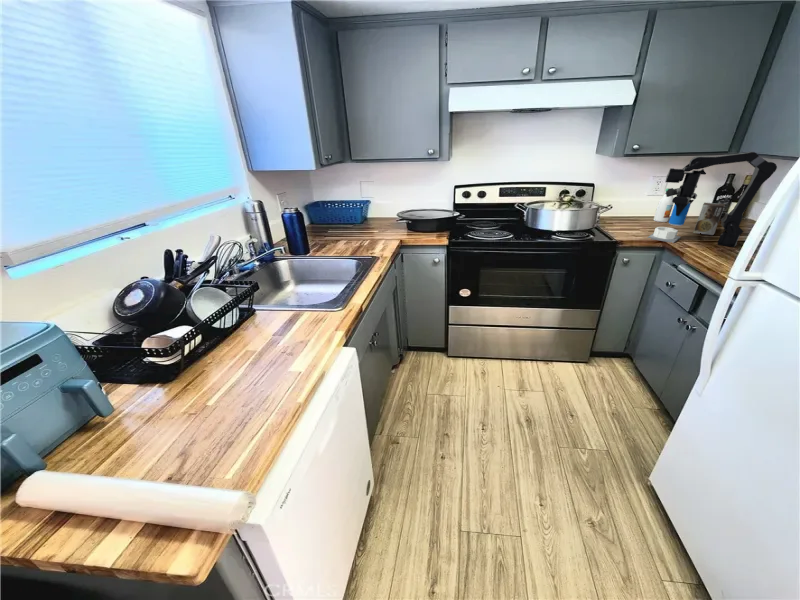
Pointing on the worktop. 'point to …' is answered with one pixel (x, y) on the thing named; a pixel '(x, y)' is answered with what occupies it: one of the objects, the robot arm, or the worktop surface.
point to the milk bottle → (664, 208)
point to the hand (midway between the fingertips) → (679, 214)
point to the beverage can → (681, 218)
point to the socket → (665, 234)
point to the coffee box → (709, 218)
